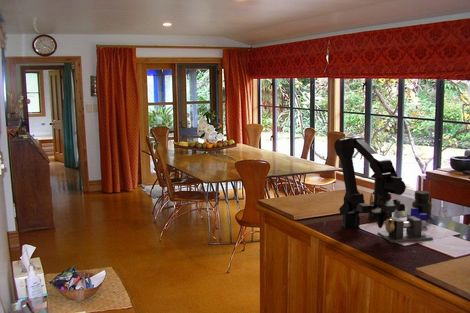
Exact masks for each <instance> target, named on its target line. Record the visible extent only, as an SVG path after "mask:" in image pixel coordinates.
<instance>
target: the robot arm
mask: <svg viewBox="0 0 470 313" xmlns="http://www.w3.org/2000/svg"><path fill="white" fill-rule="evenodd" d="M333 147H334V152H335V155H336V156H337V157H338V159H340V163H341V168H342V169H341V170H342V175H343V182H344V188H345V194H344V196H343V204H341V206H339V209H338V210H339V214H341V215H342V223H341V224H340V225H341V227H343V228H344V229H345V230H353V229H354V230H358V229H361V225H360V223H361V217H360V214H369V213H371V212H372V213H373V215H374V217H375V222H376V224H377V227H378V229H382V227H383V226H384V224H385V222H386V220H387V219H386V217H387V216H388V215H389V214H391V213H392V214H393V213H395V212H396V211H398V212H406V205H405V204H404V203H402V202H401V200H400V199H399V198H398V199H397V198H396V199H392V200H391V196H392V195H397V196H401V195H403V194H405V191H406V188H407V186H406V184H405V181H404V180H403V178H402V176H401V177H399V176H398V174H397V171H396V169H395V167H394V165H393V162H392V161H391V159H389V158H387V157H386V156H384V155H381V154H379V153H378V152H377V151H375V149H373V147H371V146H370V145H369V144H368V143H367V142H366V141H365V140H364V138H363V137H362V136H352V137H349V138H340V139H339V138H338V139H336V140H335V142H334V144H333ZM355 150H356V151H357V152H358V153H359V154H360V155H361V156H362V157H363V158H364V159H365V160H366V161H367V162H368V164H369V167H370V170H372V172H373V174H372V175H371V176H370V178H372V179H374V185H373V186H374V188H373V191H372V195H373V201H372V204H374V205H369V204H368V203H367V202H366V201H365V198H364V197H365V196H364V193H360V191H359V190H358V185H357V179H356V173H355V168H354V161H353V156H354V155H355V154H354V153H355ZM390 193H391V195H390ZM377 207H379V208H377Z"/></svg>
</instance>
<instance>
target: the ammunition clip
mask: <svg viewBox="0 0 470 313" xmlns="http://www.w3.org/2000/svg"><path fill="white" fill-rule="evenodd" d="M389 194H390V195H391V200H393V198H392V193H389ZM369 196H370V197H369V205H374V204H372V201H374V194H373V192H371V193H370V195H369ZM377 208H379V207H377ZM392 217H393V212H392V213H391V214H389V215H388V216H387V217H386V219H385V220H387V219H389V218H392ZM367 218H368V219H372V220H373V219H375V217H374V215H373V213H372V212H371V213H368V216H367ZM375 220H376V219H375Z"/></svg>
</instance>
